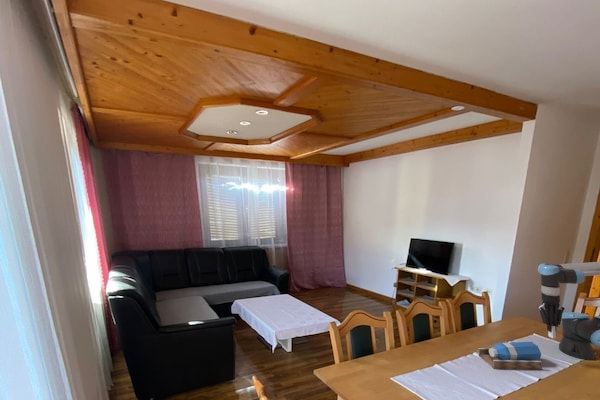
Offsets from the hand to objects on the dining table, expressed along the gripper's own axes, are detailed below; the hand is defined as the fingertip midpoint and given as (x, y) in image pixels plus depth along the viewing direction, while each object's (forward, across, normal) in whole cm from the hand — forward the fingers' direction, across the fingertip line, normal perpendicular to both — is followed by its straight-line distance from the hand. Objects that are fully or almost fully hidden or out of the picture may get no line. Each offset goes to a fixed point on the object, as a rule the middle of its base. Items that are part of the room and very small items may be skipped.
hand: (552, 337), depth 151 cm
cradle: (+14, +24, 0) cm, 27 cm away
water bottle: (+8, +9, -2) cm, 12 cm away
